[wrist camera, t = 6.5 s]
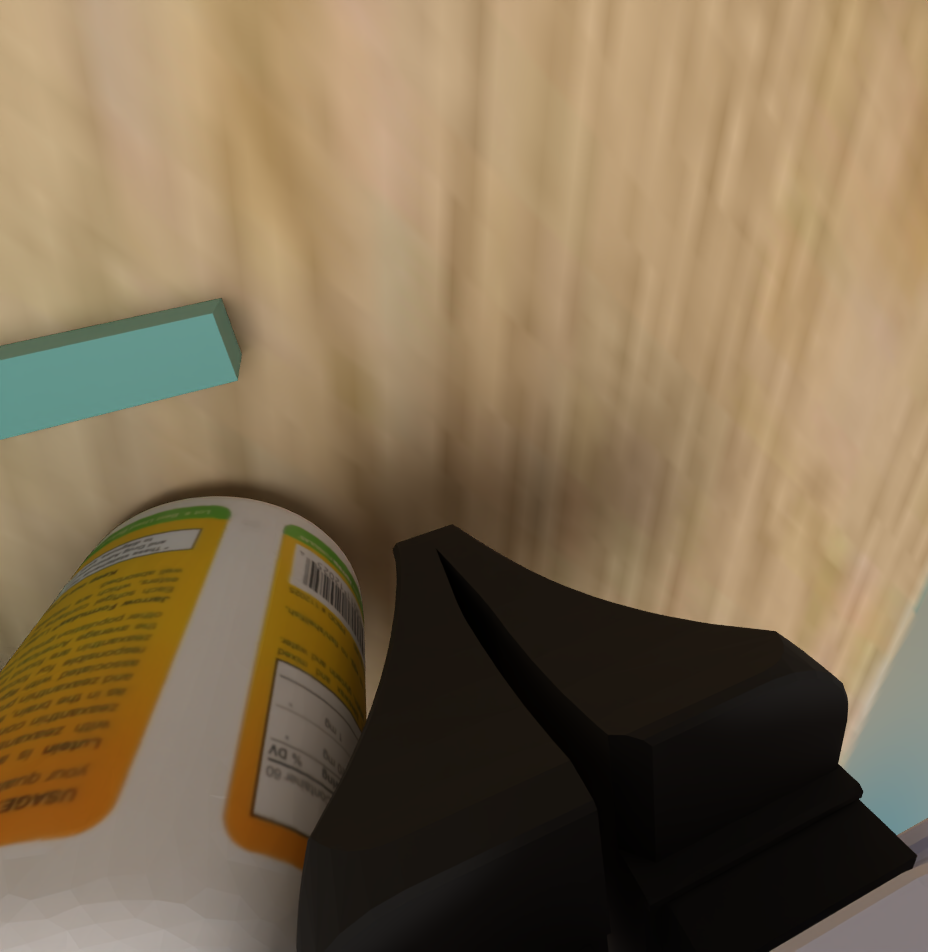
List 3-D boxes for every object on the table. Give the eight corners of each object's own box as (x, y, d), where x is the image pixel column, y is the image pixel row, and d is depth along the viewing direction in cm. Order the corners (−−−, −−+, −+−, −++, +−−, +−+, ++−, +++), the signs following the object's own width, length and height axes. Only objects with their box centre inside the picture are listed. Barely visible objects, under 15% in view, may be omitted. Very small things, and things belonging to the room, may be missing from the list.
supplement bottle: (63, 673, 11) (-816, 2089, 3) (112, 449, 10) (-1981, 2569, 1) (318, 714, 13) (247, 1669, 5) (401, 531, 11) (541, 1554, 3)
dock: (384, 747, 15) (434, 958, 11) (87, 870, 13) (4, 1177, 9) (221, 298, 10) (188, 355, 5) (-314, 414, 8) (-1006, 636, 4)
